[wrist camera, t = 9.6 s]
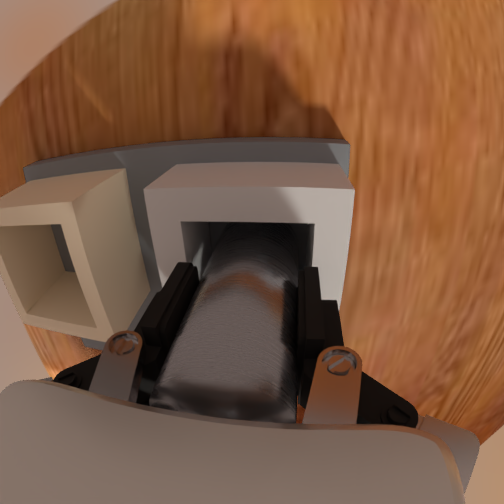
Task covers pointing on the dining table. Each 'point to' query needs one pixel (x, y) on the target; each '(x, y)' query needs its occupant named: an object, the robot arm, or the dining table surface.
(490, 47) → the dining table surface
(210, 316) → the grey rounded cylinder
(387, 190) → the dining table surface
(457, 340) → the dining table surface
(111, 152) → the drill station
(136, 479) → the robot arm
